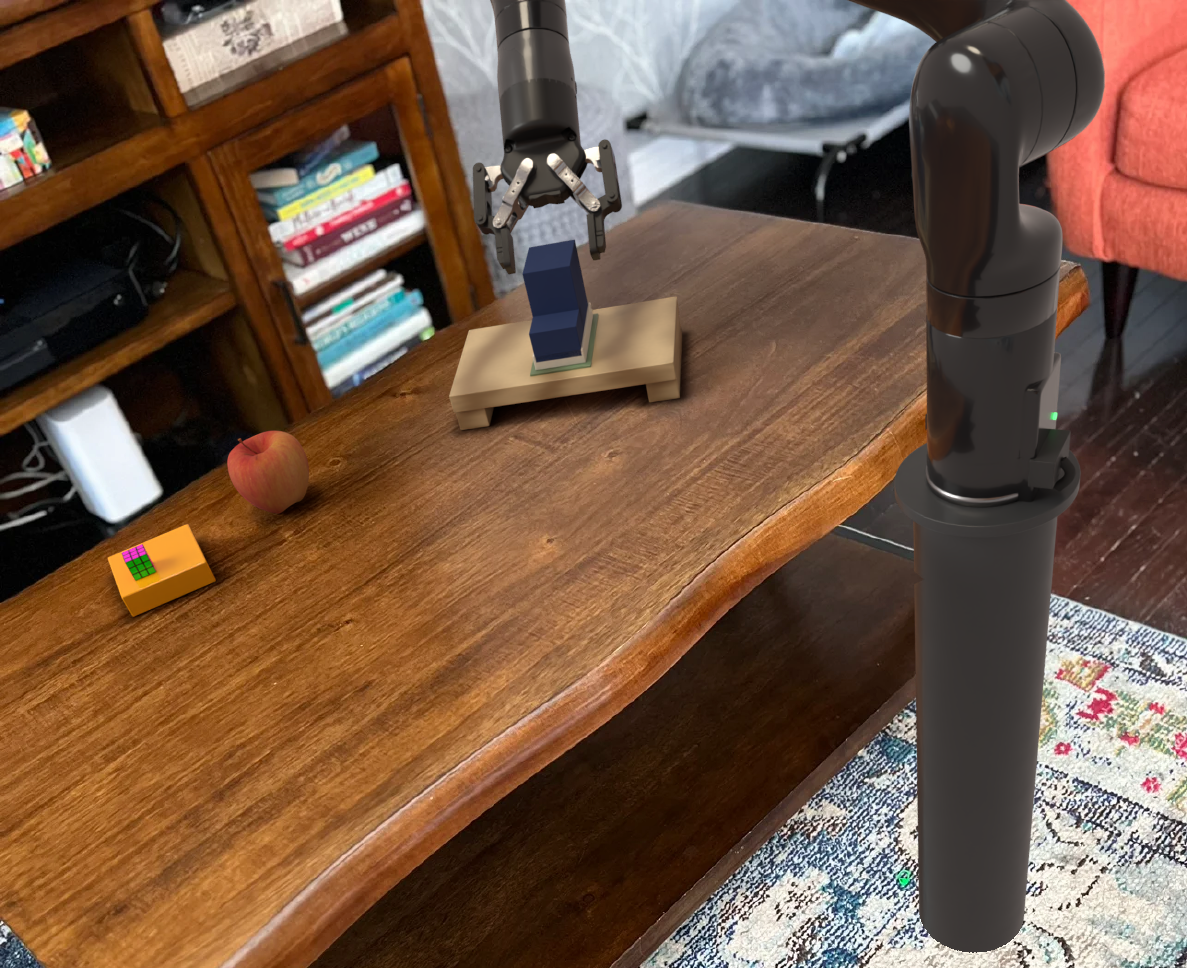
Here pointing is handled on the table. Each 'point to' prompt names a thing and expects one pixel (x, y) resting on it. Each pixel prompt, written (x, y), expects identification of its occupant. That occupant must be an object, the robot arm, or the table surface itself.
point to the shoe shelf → (614, 360)
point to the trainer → (557, 305)
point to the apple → (270, 470)
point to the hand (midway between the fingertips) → (552, 264)
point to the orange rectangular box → (160, 570)
